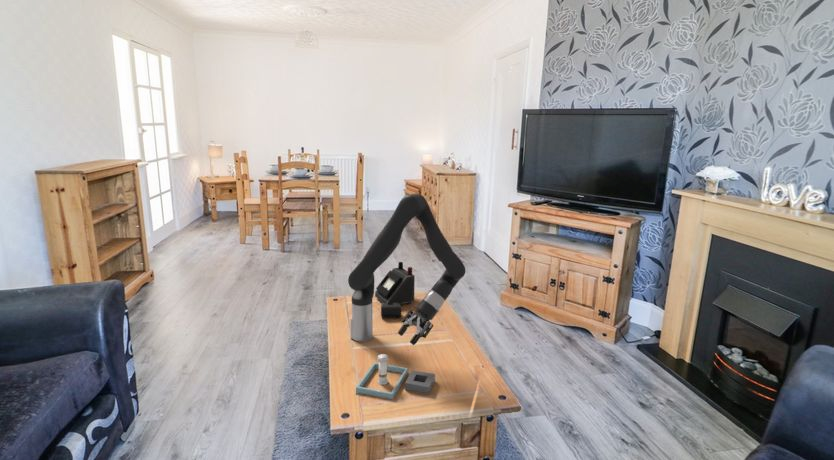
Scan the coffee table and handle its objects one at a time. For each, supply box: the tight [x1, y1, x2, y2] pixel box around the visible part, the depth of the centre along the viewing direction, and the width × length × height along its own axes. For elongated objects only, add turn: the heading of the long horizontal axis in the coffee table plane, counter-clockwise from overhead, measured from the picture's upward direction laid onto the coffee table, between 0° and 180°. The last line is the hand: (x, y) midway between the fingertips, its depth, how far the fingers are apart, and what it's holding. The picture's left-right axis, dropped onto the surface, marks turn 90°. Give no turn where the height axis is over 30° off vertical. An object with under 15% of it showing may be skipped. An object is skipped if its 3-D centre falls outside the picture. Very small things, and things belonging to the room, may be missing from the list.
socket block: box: [404, 369, 436, 396], centre depth 165 cm, size 9×9×4 cm
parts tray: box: [355, 362, 409, 400], centre depth 167 cm, size 14×18×3 cm
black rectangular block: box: [380, 302, 402, 319], centre depth 225 cm, size 10×7×7 cm
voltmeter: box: [374, 261, 416, 305], centre depth 244 cm, size 16×16×20 cm
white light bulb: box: [377, 353, 389, 386], centre depth 166 cm, size 4×4×11 cm
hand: (405, 339), depth 169 cm, fingers open, 8 cm apart
